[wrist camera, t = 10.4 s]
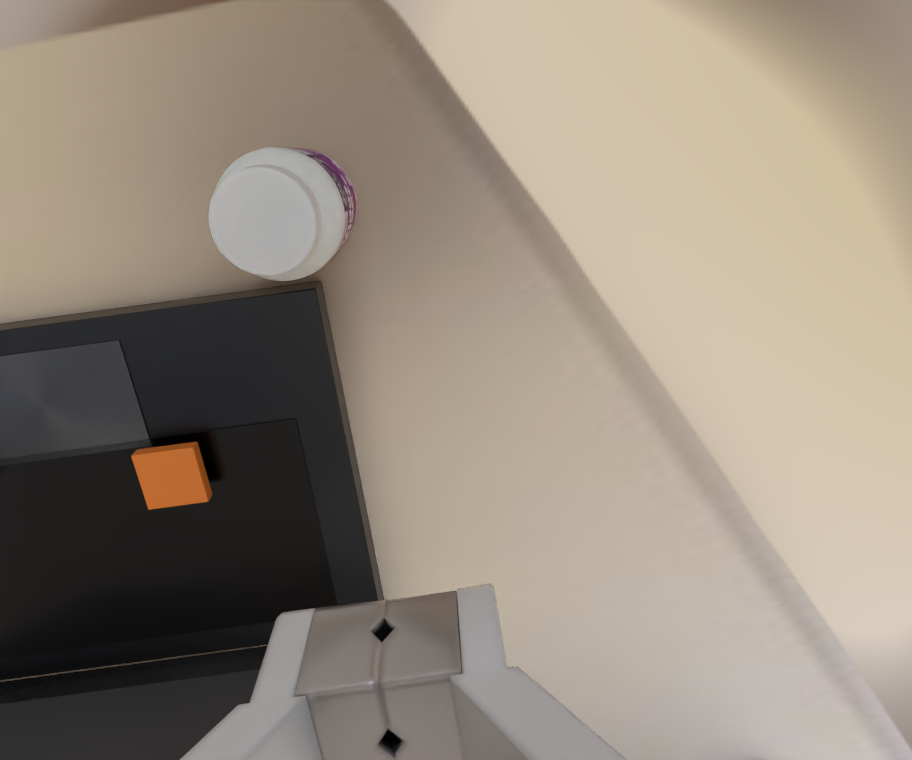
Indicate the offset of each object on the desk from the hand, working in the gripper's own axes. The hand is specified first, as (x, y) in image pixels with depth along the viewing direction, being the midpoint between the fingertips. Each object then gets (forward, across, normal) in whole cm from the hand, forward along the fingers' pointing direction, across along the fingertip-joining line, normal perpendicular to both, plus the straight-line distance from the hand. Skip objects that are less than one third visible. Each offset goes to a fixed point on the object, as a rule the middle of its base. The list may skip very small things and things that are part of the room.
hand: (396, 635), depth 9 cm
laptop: (+27, +20, +10) cm, 35 cm away
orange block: (+25, +14, +8) cm, 30 cm away
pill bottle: (+27, +5, -4) cm, 28 cm away
